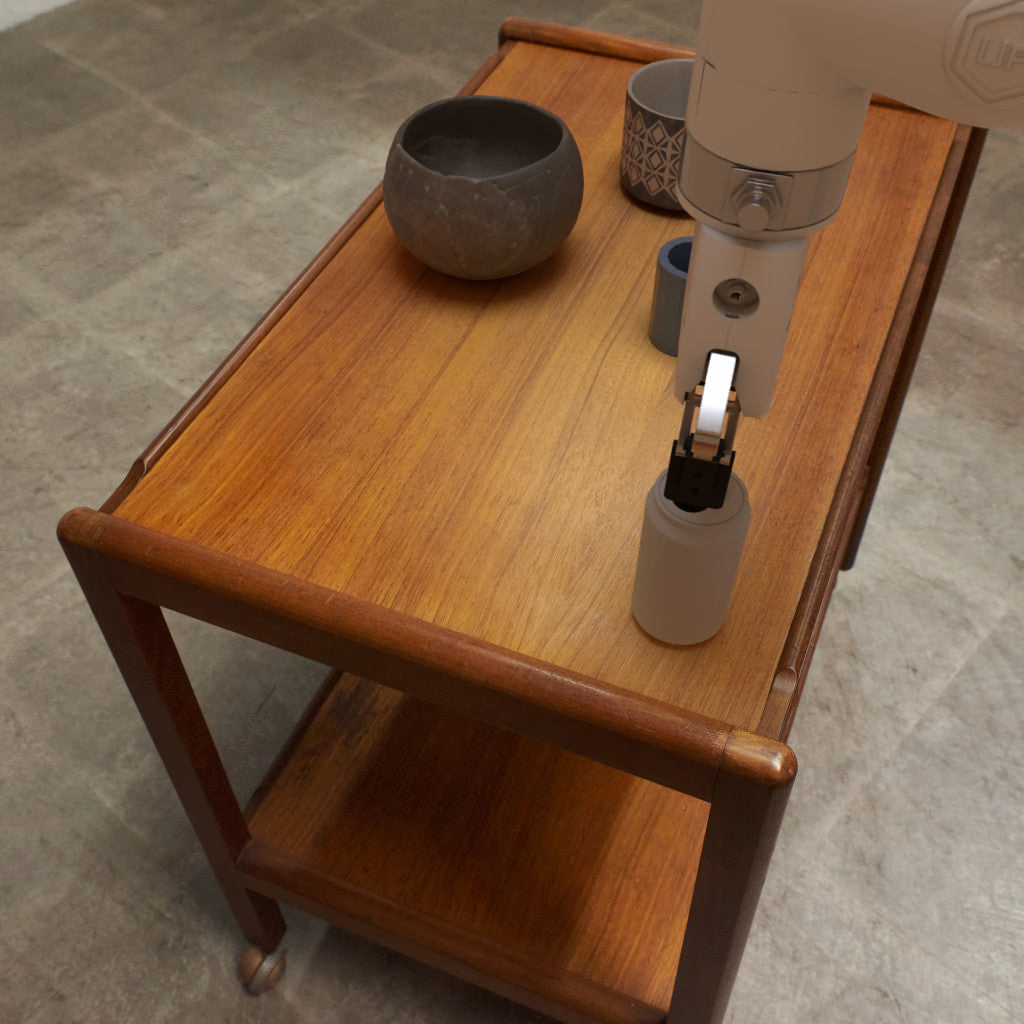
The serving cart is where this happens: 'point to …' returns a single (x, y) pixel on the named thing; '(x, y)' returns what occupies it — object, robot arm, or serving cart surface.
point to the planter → (655, 130)
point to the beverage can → (688, 563)
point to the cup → (669, 294)
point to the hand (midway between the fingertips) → (705, 439)
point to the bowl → (483, 185)
